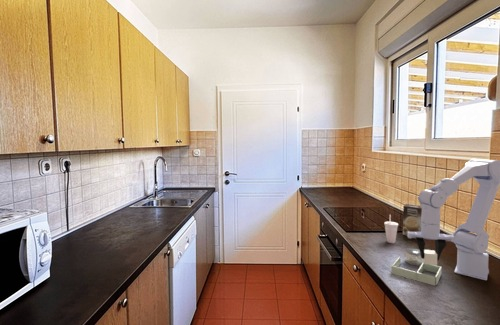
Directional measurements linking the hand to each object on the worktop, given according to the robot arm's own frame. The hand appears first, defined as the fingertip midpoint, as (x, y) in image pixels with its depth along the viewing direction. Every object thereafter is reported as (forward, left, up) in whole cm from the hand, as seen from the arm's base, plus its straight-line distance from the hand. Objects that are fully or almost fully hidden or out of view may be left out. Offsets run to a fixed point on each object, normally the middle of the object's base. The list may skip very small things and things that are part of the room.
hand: (429, 258), depth 101 cm
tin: (+7, -11, -7) cm, 15 cm away
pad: (0, 0, -7) cm, 7 cm away
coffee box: (+15, -48, -8) cm, 51 cm away
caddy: (+4, 0, -7) cm, 8 cm away
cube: (0, 0, -2) cm, 2 cm away
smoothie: (+21, -30, -8) cm, 38 cm away
